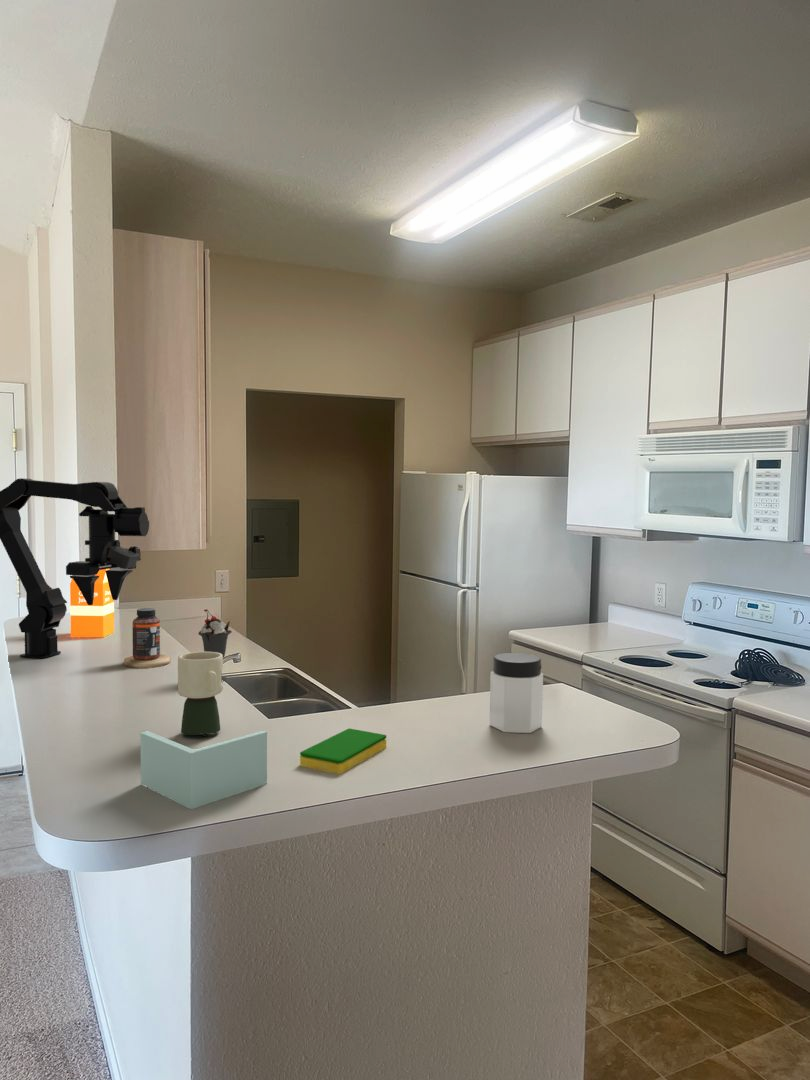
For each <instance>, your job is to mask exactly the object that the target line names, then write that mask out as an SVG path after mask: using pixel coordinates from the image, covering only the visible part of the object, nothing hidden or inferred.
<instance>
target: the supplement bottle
mask: <svg viewBox="0 0 810 1080" xmlns="http://www.w3.org/2000/svg"><path fill="white" fill-rule="evenodd" d="M160 625H161V623H160V619H159V618H158V616H157V615H156V609H155V608H153V607H152V608H151V607H146V608H145V607H144V608H138V609H137V610H136V618H134V619H133V621H132V627H131V629H132V656H133V658H134V659H136V660H153V659H157V658H158V657H159V656H160V654H161V639H160V638H161V629H160V628H161V626H160Z"/></svg>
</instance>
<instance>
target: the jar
mask: <svg viewBox="0 0 810 1080" xmlns="http://www.w3.org/2000/svg"><path fill="white" fill-rule="evenodd" d="M492 662H493V663H492V664H493V666H492V671H490V679H489V680H490V683H489V686H490V687H489V726H491V727H493V728H495V729H496V730H498V731H501V732H503V733H511V734H512V733H514V734H531V733H533V732H535V731H537V730H538V729H540V728H542V727H543V700H544V698H543V696H544V695H543V693H544V673H543V672H542V658H541V657H539V656H537V655H535V654H529V653H523V652H522V653H521V652H506V653H505V652H504V653H498V654H495V655H494V656H493V661H492Z"/></svg>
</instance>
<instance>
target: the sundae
mask: <svg viewBox="0 0 810 1080" xmlns="http://www.w3.org/2000/svg"><path fill="white" fill-rule="evenodd" d="M204 612H205V613H206V616H207V617H206V619H205V620H204V623H205V624H203V626H201V629H200V630H199V631H198V633H197V635H199V636H201V640H202V644H203V652H217V653H221V654H222V655H223V659H224V658H225V656H226V652H227V651H226V650H227V643H228V642H227V641H228V637H229V635H230V634H231V633H233V632H232V630H230V629H229V627H230V624H231V622H230V621H228V622H227V623H226V624H224V623H225V622H223V621H222V620H221V619H219V618H218V617H217V616H214V615H213V614H211V613H210V611H209V610H208V608H207V609H204ZM209 615H210V616H211V617H210V619H209ZM227 679H228V678H227V676H225V675H222V680H223V681H222V682H224V681H227Z"/></svg>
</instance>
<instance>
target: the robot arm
mask: <svg viewBox="0 0 810 1080" xmlns="http://www.w3.org/2000/svg"><path fill="white" fill-rule="evenodd" d="M31 497H39V498H40V497H41V498H50V499H61V500H62V499H63V500H70V501H74V502H77V503H79V504H83V505H86V506H85V508H84V509H83V510H82V511H80V512H79V513H78V515H79V517H88V540H87V539H86V540H84V545H85V546H88V554H89V555H88V557H85V558H84V560H85V561H82V560H78V561H77V562H76V561H72V562H68V563H67V564H66V565H65V575H66V576H69V578H70V579H72V578H73V580H74V581H75V583H76V585H77V586H78V588H79V589H80V591H81V593H82V595H83V597H84V599H85V600H86V602H87V604H88V605H93V600H94V586H95V581H96V580H97V579H98V578H99V576H96V574H98V572H99V570H103V569H110V570H105V572H106V576H107V580H108V584H109V588H110V593H111V596H112V599H113V600H114V601H117V600H118V599H119V596H120V594H121V590H122V587H123V583H124V581H125V578H126V577H127V576H128V575H130V574H131V573H133V571H134V569H136V568H137V562H138V561H139V562H140V561H141V560H142V557H141V548H140V547H138V546H136V545H134V546H129V548H126V547H122V546H121V542H120V539H116V533H117V534H118V535H119V536H120V537H146V536H147V535H148V532H149V530H150V520H149V518H148V515H147V512H146V508H145V507H144V506H142V507H141V506H140V507H139V506H138V507H128V506H127V505H126V504H125V502H124V500H122V498H121V497H120V496H119V491H118V489H117V486H116V485H114V483H112V482H110V481H109V482H108V481H91V482H81V483H68V482H55V481H46V480H37V479H32V478H21V477H20V478H17V479H15V480H14V481H13V482H11V483H10V484H9V485H8V486H6V487H5V488H3V489H1V490H0V541H1V544H2V546H3V547H4V550H5V552H6V553H7V556H8V558H9V560H10V562H11V564H12V567H14V570H15V572H16V574H17V576H18V578H19V580H20V582H21V584H22V587H23V589H24V590H25V593H26V594H25V595H26V596H25V598H26V601H25V602H26V603H25V605H26V609H27V612H28V614H27V615H25V617H24V618H22V620H21V621H20V622H19V623H18V628H19V629H20V632H21V633H24V653H21V654H20V655H19V656H20V657H21V658H31V659H33V658H34V659H46V658H49V656H50V657H53V656H56V655H59V654H62V652H61V651H62V650H61V651H60V650H58V635H57V629H56V628H58V627H59V626H60V624H61V621H62V619H64V617H65V616H66V614H67V610H68V609H67V605H66V604H67V603H68V601H67V600H66V599H65V597H63V593H62V590H61V588H60V587H55V588H52V587H51V586H50V585H49V584H48V583H47V581H46V579H45V578H44V575H43V573H42V571H41V569H40V567H39V565H38V563H37V561H36V559H35V557H34V555H33V553H32V551H31V548H30V547H29V545H28V542H27V541H26V539H25V536H24V534H23V533H22V530H21V527H22V526H21V524H22V523H21V521H22V519H21V514H20V510H21V509H23V507H25V506H26V504H27V503H28V501H29V500H30V498H31ZM95 508H97V509H95ZM98 508H100V509H98ZM109 512H114V513H109Z"/></svg>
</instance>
